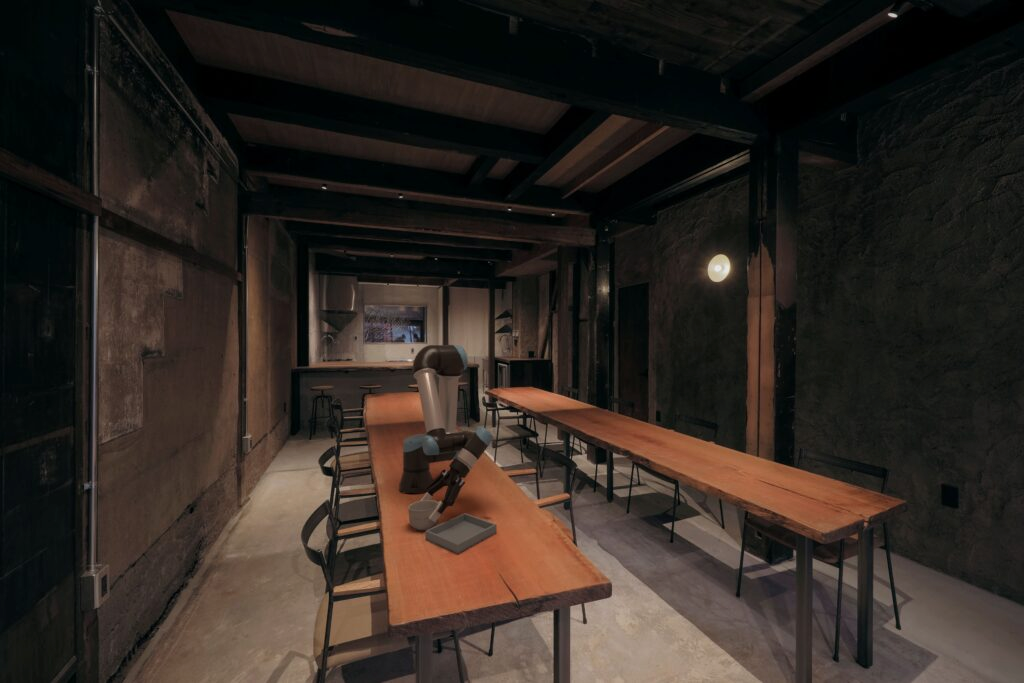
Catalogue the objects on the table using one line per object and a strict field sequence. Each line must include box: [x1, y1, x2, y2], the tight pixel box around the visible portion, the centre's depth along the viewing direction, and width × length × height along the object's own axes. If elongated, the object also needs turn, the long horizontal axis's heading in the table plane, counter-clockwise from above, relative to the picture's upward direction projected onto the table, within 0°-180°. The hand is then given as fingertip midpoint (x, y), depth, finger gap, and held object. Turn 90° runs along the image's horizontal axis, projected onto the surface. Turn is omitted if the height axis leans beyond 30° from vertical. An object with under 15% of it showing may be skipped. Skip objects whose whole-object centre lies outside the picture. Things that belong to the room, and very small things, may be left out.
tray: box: [424, 512, 497, 555], centre depth 142 cm, size 15×18×3 cm
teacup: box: [407, 499, 446, 531], centre depth 150 cm, size 14×11×8 cm
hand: (424, 514), depth 149 cm, fingers closed on teacup, 11 cm apart
